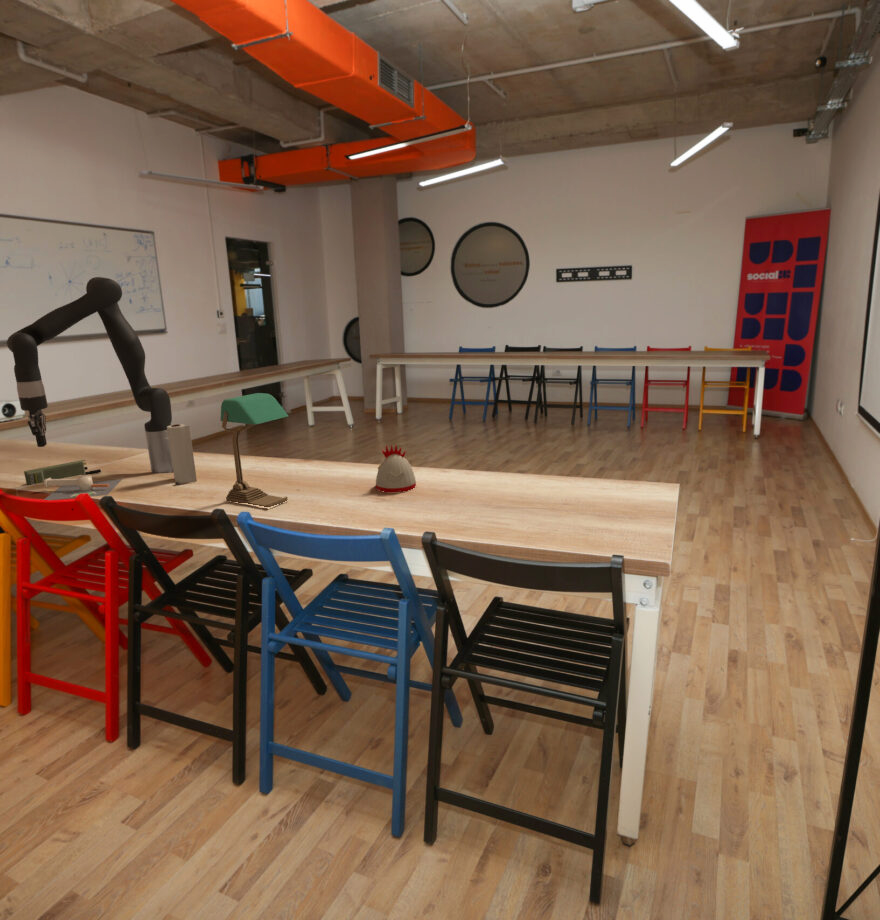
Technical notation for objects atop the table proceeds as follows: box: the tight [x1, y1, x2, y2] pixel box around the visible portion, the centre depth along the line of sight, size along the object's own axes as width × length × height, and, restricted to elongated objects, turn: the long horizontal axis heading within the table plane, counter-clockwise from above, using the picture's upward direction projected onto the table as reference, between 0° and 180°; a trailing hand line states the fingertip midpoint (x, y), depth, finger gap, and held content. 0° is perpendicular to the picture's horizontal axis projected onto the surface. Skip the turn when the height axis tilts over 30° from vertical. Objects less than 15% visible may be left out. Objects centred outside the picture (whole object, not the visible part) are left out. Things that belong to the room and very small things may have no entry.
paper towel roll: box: [167, 423, 198, 485], centre depth 225 cm, size 7×6×21 cm
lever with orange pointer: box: [43, 475, 109, 491], centre depth 218 cm, size 22×4×4 cm, turn 88°
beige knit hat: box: [375, 444, 417, 493], centre depth 213 cm, size 14×14×15 cm
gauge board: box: [43, 478, 123, 501], centre depth 219 cm, size 20×20×2 cm
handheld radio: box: [23, 459, 102, 486], centre depth 235 cm, size 7×3×25 cm
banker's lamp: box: [220, 392, 289, 507], centre depth 198 cm, size 16×21×35 cm
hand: (42, 445), depth 207 cm, fingers closed
